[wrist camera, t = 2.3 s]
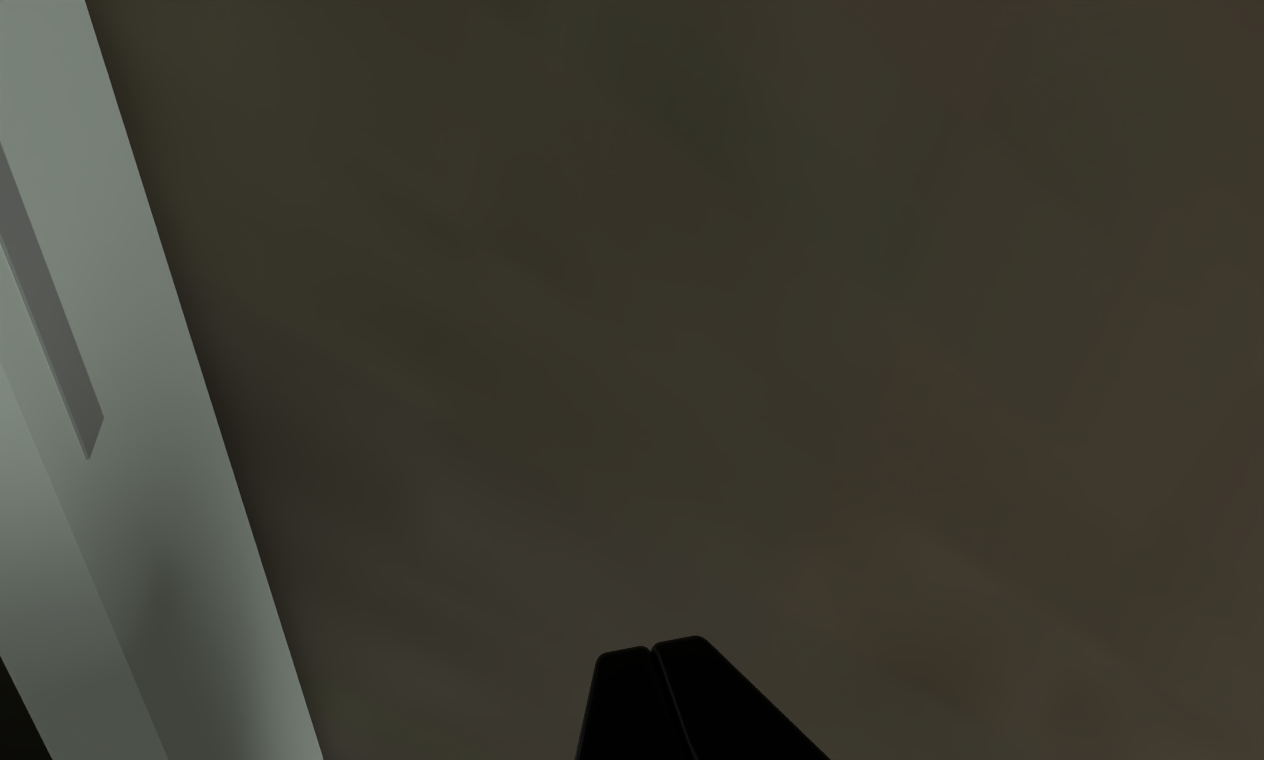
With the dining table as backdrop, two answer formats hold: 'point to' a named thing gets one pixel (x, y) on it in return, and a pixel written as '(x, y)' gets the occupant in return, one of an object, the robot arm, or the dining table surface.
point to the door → (115, 449)
